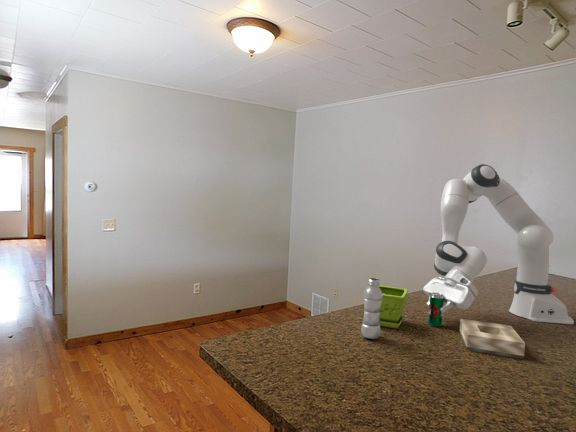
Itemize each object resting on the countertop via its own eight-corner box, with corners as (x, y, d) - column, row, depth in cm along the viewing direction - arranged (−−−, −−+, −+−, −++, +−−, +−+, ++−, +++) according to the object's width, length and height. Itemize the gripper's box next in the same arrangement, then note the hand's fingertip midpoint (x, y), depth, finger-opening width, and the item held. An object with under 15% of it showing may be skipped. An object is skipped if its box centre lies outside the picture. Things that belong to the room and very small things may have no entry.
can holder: (509, 339, 126) (510, 325, 126) (523, 359, 111) (525, 343, 110) (459, 332, 131) (460, 318, 130) (466, 349, 116) (467, 334, 115)
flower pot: (406, 320, 140) (408, 288, 139) (401, 332, 128) (404, 297, 127) (370, 314, 146) (372, 283, 145) (362, 325, 133) (364, 291, 133)
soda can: (443, 328, 134) (445, 296, 133) (428, 326, 135) (431, 295, 134) (440, 323, 139) (442, 292, 138) (426, 321, 140) (428, 291, 139)
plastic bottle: (381, 335, 124) (384, 278, 123) (379, 343, 118) (383, 282, 116) (362, 332, 126) (365, 276, 125) (359, 339, 120) (363, 280, 118)
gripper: (432, 270, 148) (411, 295, 145) (474, 283, 129) (451, 311, 126) (440, 280, 150) (419, 305, 147) (482, 294, 131) (460, 323, 128)
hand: (434, 308), depth 136 cm, fingers closed on soda can, 5 cm apart
